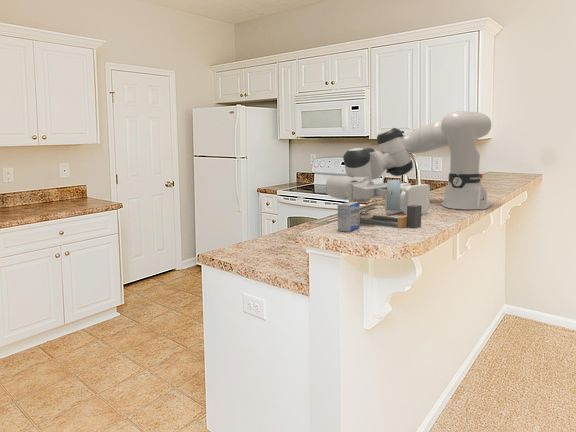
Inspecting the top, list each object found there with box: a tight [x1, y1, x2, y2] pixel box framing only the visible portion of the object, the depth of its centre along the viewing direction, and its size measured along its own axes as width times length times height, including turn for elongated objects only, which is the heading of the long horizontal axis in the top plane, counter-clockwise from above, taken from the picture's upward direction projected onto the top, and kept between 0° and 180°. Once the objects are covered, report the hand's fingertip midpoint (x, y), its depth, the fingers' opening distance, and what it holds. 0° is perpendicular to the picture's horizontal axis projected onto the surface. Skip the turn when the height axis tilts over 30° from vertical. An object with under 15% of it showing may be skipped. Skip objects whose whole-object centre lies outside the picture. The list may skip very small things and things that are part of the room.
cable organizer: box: [384, 182, 431, 216], centre depth 177 cm, size 15×11×12 cm
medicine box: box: [337, 201, 361, 233], centre depth 150 cm, size 8×4×9 cm, turn 148°
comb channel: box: [360, 205, 422, 229], centre depth 159 cm, size 10×20×7 cm, turn 44°
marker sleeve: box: [386, 179, 402, 211], centre depth 157 cm, size 4×4×10 cm
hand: (396, 192), depth 156 cm, fingers closed on marker sleeve, 4 cm apart
